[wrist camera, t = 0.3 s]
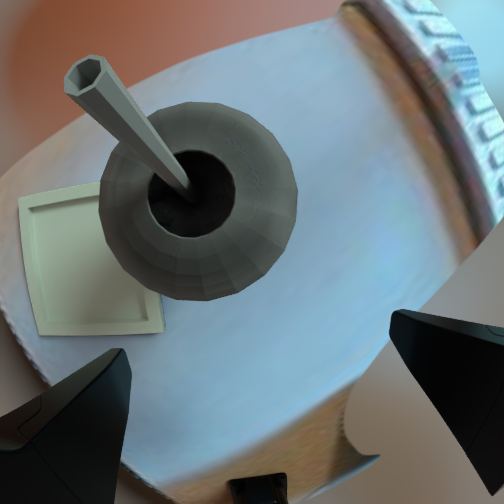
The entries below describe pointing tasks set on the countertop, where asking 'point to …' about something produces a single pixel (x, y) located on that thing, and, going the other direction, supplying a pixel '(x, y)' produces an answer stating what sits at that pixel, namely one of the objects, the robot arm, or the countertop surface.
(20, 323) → the countertop surface
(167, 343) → the countertop surface
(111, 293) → the tray
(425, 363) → the robot arm
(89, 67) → the beverage cup
